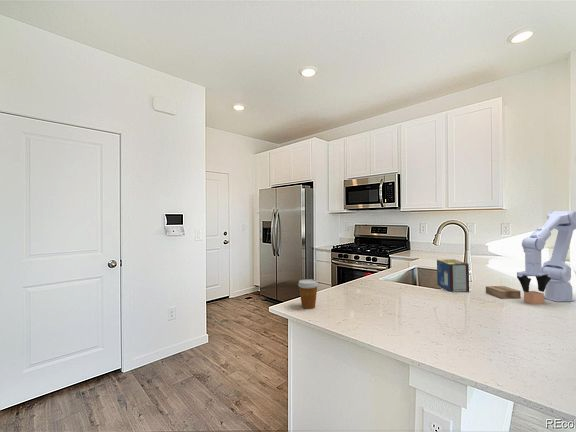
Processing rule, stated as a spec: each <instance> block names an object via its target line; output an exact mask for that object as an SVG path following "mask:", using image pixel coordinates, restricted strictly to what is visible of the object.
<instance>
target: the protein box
mask: <svg viewBox="0 0 576 432" xmlns="http://www.w3.org/2000/svg"><path fill="white" fill-rule="evenodd" d="M469 265H470V264H469V263H468V262H464V261H460V260H457V259H436V275H437V276H436V277H437V279H436V281H437V286H439V287H440V288H442V289H444V290H445V291H447V292H450V293H454V292H455V293H465V292H466V293H470V269H469V268H470V266H469Z"/></svg>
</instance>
